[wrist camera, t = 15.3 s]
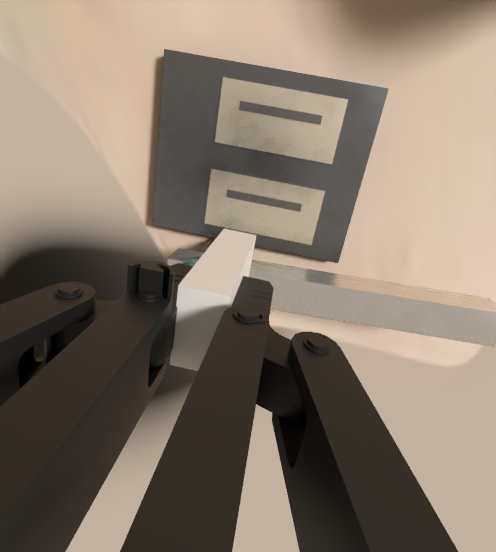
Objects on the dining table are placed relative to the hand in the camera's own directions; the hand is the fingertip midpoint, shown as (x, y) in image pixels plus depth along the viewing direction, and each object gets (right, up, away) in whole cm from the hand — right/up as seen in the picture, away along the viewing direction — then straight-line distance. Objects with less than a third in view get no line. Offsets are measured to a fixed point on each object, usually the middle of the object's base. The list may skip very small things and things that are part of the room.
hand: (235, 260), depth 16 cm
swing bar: (+6, -2, +11) cm, 12 cm away
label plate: (+1, +8, +12) cm, 15 cm away
